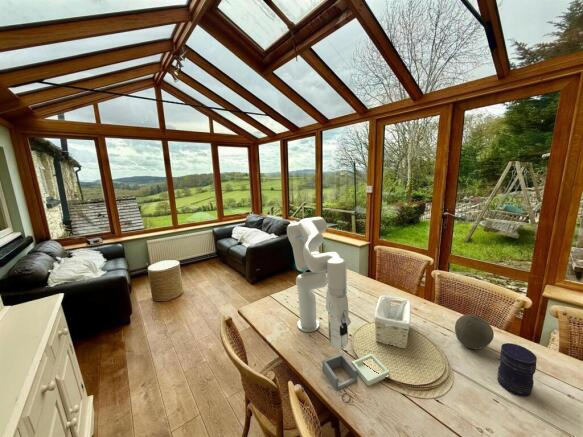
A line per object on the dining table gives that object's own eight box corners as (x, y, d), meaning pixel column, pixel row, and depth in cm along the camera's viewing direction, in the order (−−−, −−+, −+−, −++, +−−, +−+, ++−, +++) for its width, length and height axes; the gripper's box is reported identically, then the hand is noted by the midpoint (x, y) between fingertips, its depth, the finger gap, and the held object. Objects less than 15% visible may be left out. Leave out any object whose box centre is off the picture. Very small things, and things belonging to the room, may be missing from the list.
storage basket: (379, 316, 139) (379, 293, 136) (410, 323, 131) (411, 299, 128) (373, 342, 118) (373, 316, 115) (409, 352, 110) (410, 324, 108)
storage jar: (495, 386, 91) (499, 353, 88) (498, 370, 98) (502, 339, 95) (531, 403, 84) (537, 367, 81) (532, 385, 91) (537, 351, 88)
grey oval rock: (475, 360, 104) (478, 330, 101) (446, 339, 117) (448, 312, 114) (498, 352, 107) (502, 323, 104) (468, 332, 121) (471, 306, 118)
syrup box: (336, 338, 101) (334, 306, 99) (348, 343, 97) (347, 310, 96) (329, 345, 97) (327, 312, 95) (342, 351, 93) (340, 317, 91)
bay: (322, 370, 103) (322, 360, 102) (342, 362, 107) (342, 352, 106) (335, 390, 94) (335, 379, 93) (357, 380, 97) (357, 370, 96)
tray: (351, 366, 105) (351, 361, 104) (371, 358, 108) (371, 353, 108) (368, 386, 94) (368, 381, 94) (389, 376, 98) (389, 371, 98)
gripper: (318, 282, 100) (319, 319, 103) (341, 302, 84) (342, 345, 87) (333, 278, 102) (334, 314, 106) (358, 296, 86) (358, 338, 90)
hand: (337, 328), depth 96 cm, fingers closed on syrup box, 7 cm apart
